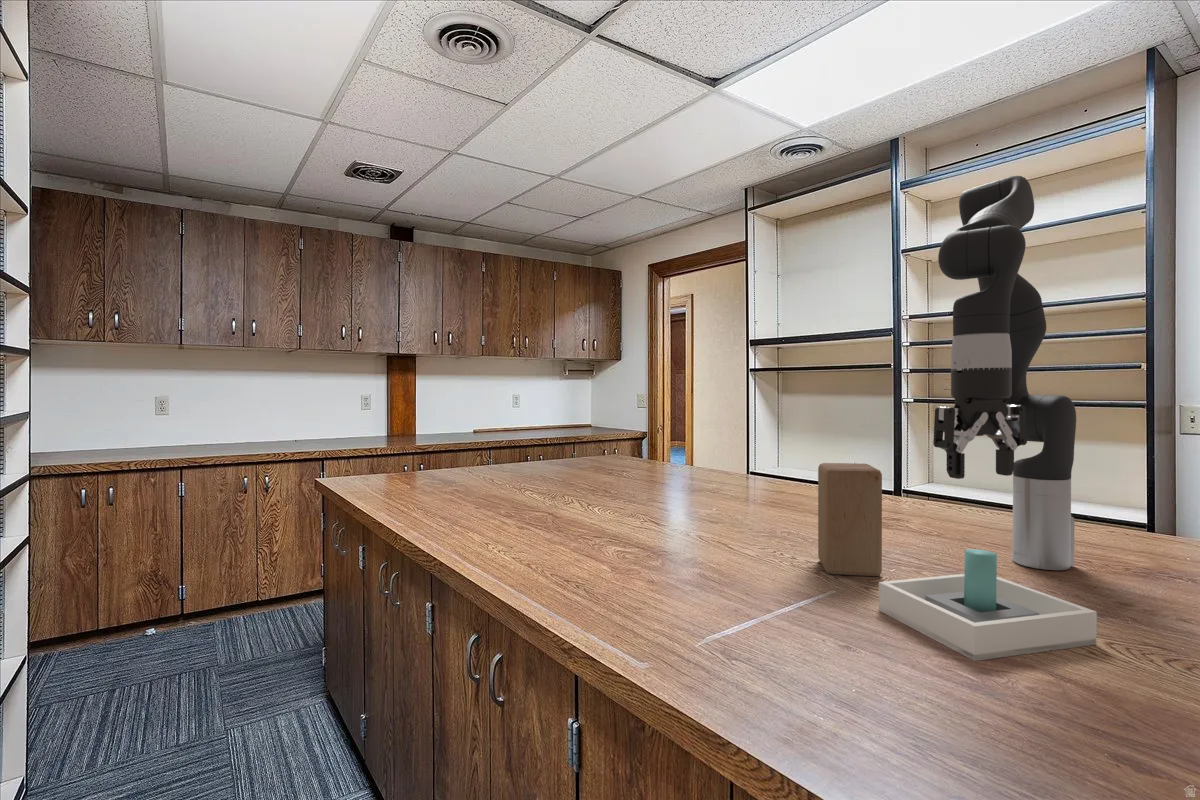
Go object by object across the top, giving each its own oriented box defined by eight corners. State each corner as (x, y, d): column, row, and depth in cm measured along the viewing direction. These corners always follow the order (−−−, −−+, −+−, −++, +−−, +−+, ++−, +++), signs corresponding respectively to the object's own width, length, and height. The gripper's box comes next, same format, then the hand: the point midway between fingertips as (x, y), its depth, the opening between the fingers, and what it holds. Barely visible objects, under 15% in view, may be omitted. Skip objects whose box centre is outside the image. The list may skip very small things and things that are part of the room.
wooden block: (883, 578, 110) (883, 469, 110) (825, 575, 112) (825, 468, 112) (870, 562, 120) (870, 463, 119) (817, 560, 122) (817, 462, 121)
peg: (979, 614, 90) (980, 548, 90) (1002, 624, 87) (1003, 555, 86) (957, 616, 90) (958, 550, 89) (979, 626, 86) (980, 557, 85)
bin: (983, 599, 99) (983, 572, 99) (1096, 644, 82) (1096, 611, 81) (878, 610, 94) (878, 582, 94) (974, 661, 77) (974, 626, 77)
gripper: (997, 366, 93) (997, 470, 93) (920, 367, 90) (920, 475, 90) (1043, 365, 86) (1043, 477, 86) (961, 365, 82) (961, 483, 83)
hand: (980, 476), depth 88 cm, fingers open, 8 cm apart
